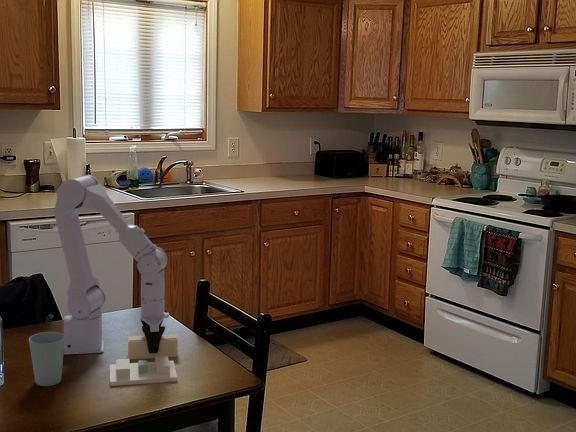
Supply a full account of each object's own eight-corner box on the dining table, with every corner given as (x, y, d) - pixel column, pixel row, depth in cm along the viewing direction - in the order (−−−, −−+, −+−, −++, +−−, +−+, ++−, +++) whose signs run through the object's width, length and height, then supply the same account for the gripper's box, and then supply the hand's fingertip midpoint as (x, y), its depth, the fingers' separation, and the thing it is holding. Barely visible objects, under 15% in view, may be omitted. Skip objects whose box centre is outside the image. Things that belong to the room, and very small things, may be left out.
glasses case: (128, 359, 170) (128, 341, 169) (128, 353, 174) (128, 335, 173) (177, 356, 173) (177, 338, 172) (176, 350, 177) (176, 333, 176)
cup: (47, 391, 151) (46, 346, 149) (22, 383, 154) (21, 339, 152) (73, 379, 157) (72, 335, 155) (48, 372, 161) (47, 329, 159)
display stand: (109, 386, 154) (109, 373, 154) (109, 368, 164) (109, 356, 163) (177, 381, 158) (177, 369, 158) (173, 364, 168) (173, 352, 167)
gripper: (171, 305, 165) (171, 359, 167) (166, 288, 178) (166, 338, 181) (141, 307, 163) (141, 361, 165) (138, 289, 177) (139, 339, 179)
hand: (152, 349), depth 173 cm, fingers closed on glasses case, 4 cm apart
